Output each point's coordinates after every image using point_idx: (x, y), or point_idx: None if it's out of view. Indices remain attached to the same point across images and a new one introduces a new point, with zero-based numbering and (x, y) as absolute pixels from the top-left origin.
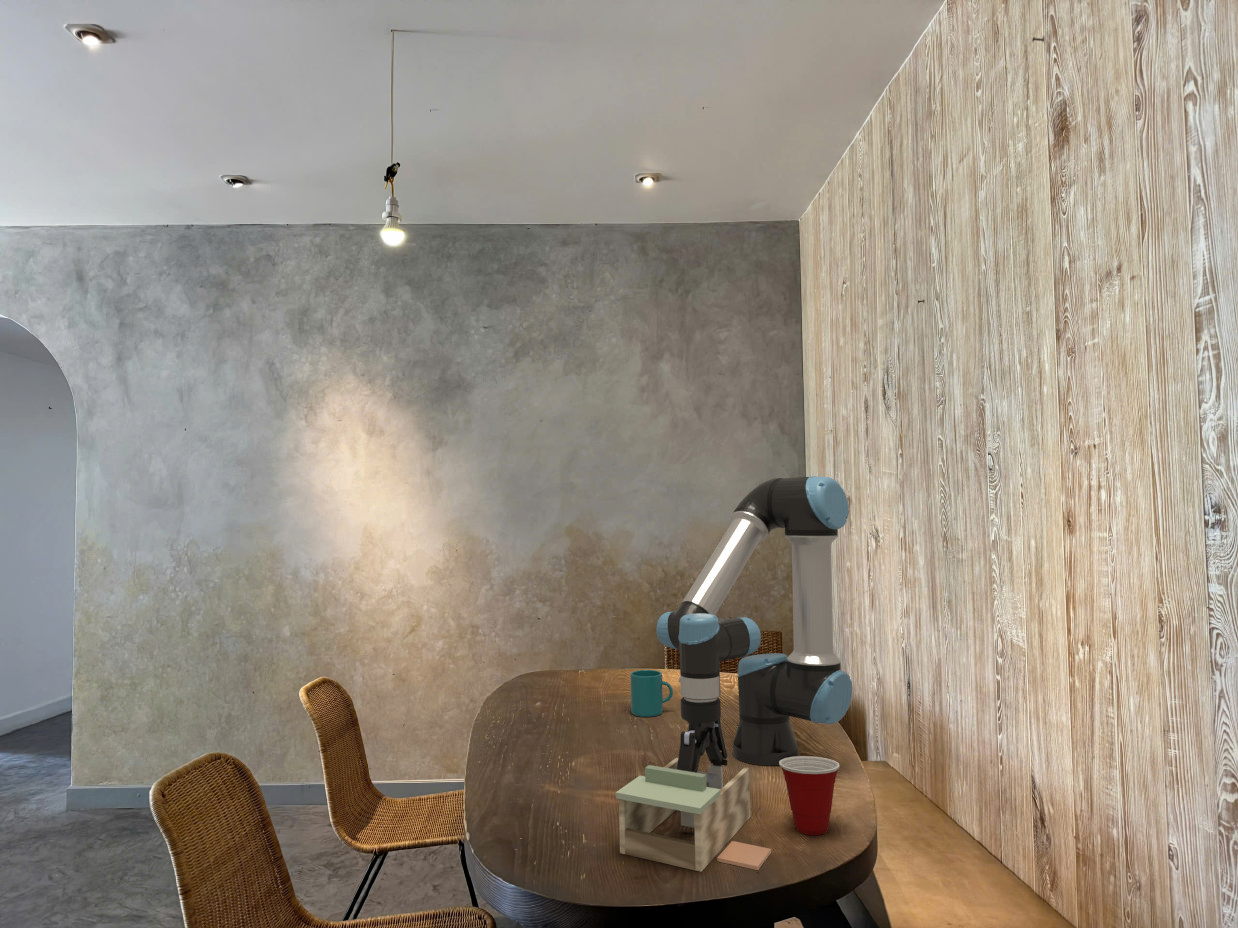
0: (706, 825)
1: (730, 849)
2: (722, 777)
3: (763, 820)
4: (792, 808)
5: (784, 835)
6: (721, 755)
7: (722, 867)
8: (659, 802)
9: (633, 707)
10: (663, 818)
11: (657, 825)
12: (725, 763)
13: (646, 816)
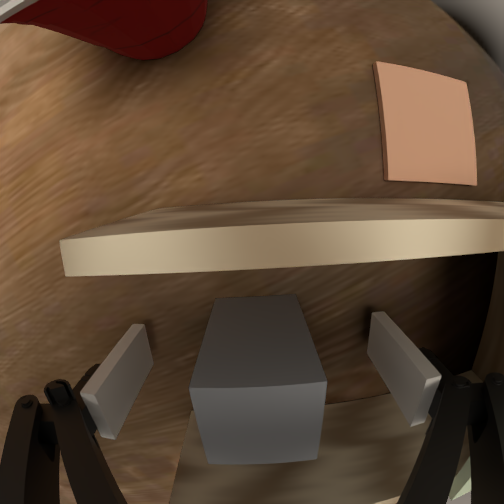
0: None
1: (433, 167)
2: (104, 366)
3: (163, 158)
4: (181, 17)
5: (243, 59)
6: (60, 428)
7: (485, 164)
8: None
9: None
10: None
11: (351, 401)
12: (63, 389)
13: None
